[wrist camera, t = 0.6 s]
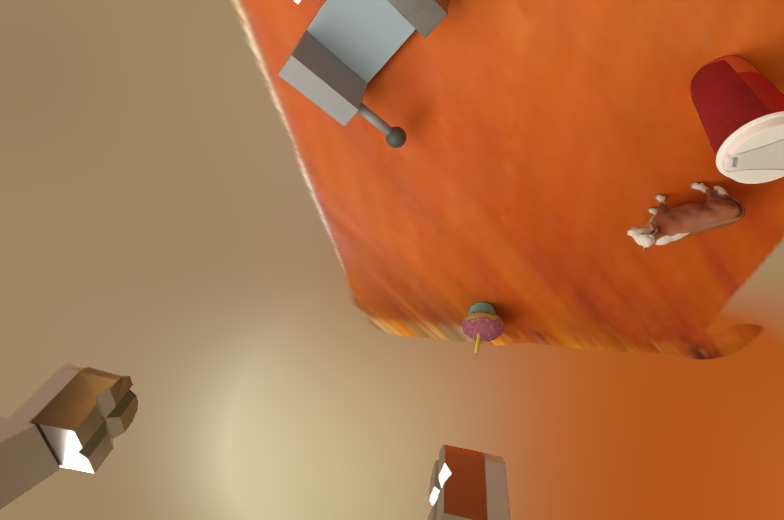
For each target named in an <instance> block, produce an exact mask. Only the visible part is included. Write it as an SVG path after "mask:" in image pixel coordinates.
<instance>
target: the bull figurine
mask: <svg viewBox="0 0 784 520" xmlns="http://www.w3.org/2000/svg"><path fill="white" fill-rule="evenodd" d="M690 188H693V189H696V190H700V191H702V192H703V193H705V195H706V201H705V202H704V203H699V202H689V203H685V204H683V205H680V206H678V207H677V208H675V209H672V210H670V211H669V209H668V208H667V205H666V204H665V198H666V196H665V195H664V196H662V195H661V194H658V195H656V196H655V199H656V200H658V201H659V202H660V204H659V206H658V208H659V209H658V208H653V207H651V208H649V209H648V210H647V211H648V212H649V213H652V214H654V216H652V217H651V218H650V220H649V221H648V222H647V223H646V224H645V226H644V227H639V228H636V227H631V228H630V229H629V230H628V233H627V234H628V235H629V236H632V237H633V238H634V240H635V241H636V243H638V244H639V245H642V246H643V250H644V252H645V251H646V248H647V247H650V246H651V245H665V244H667V243H669V242H672V241H676V240H679V239H682V238H684V237H686V236H690V235H693V234H697V233H700V232H703V231H707V230H712V229H716V228H720V227H723V226H726V225H729V224H732V223H734V222H736V221H738V220H740V219H741V218H742V217H743V216H744V215H745V208H744V206H743V204H742V203H741V202H740V201H738V200H737V199H735V198H734V197H732V196H731V195H730V194H729V193H728V192H727V191H726V190H725V189H723V188H722V187H720V186H717V185H716V186H714V190H712V189H710V188H707V187H706V186H705V185H704V184H703V183H701V184H699V183H697V182H694V183H692V184H690ZM725 196H726V197H728V198H730V199H731V200H730V199H728V198H726V197H725ZM732 200H733V201H734V202H735V203H734V202H733V201H732ZM736 203H737V204H738V205H737V204H736Z"/></svg>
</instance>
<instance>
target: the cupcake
mask: <svg viewBox="0 0 784 520" xmlns="http://www.w3.org/2000/svg"><path fill="white" fill-rule="evenodd" d="M462 327H463V331H464V333H465V334H466V335H467V336H468V337H470V338H472V339H474V340H476V348H475V353H476V354H477V353H478V350H479V343H480V341H491V340H494V339H497V338H498V337H499V336H500V335H501V334H502V333H503V330H504V328H505V326H504V323H503V321H502V320H501V318H500V317H499V316H498V315H496V313H495V310H494V307H493V306H492V305H491V304H489V303H485V302H478V303H475V304H473V305H472V306H471V309H470V311H469V314H468V315H467V316H466V317H465V318H464V320H463V322H462ZM476 354H475V355H476Z"/></svg>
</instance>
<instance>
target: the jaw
mask: <svg viewBox="0 0 784 520" xmlns="http://www.w3.org/2000/svg"><path fill="white" fill-rule="evenodd" d="M387 1H388V2H389V3H390V4H391V5H392V6H393V7H394V8H395V9H396V10H397V11H398V12H399V13H400V14H401V15H402V16H403V17H404V18H405V19H406V20H407V21H408V22H409V23H410V24H411V25H412V26H413V27H414V28H415V29H416V30H417V31H418V32H419V33H420V34H421V35H422V36H423V37H424V38H426V37H427V36H428V35H429V34H430V32H431V31H432V30H433V29H434V28H435V27H436V26H437V25H438V24H439V23H440V22H441V20H442V19H443V18H444V17H445V16H446V15H447V13H448V5H449V0H387Z"/></svg>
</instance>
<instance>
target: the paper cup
mask: <svg viewBox="0 0 784 520" xmlns="http://www.w3.org/2000/svg"><path fill="white" fill-rule="evenodd" d="M690 94H691V98H692V100H693V103H694V105H695V108H696V110H697V112H698V115H699V117H700V119H701V122H702V124H703V126H704V129H705V131H706V133H707V136H708V138H709V141H710V143H711V145H712V148H713V150H714V152H715V154H716V165H717V168H718V170H719V171H720V172H721V173H722V174H723V175H725V176H727V177H729V178H731V179H733V180H735V181H737V182H741V183H746V184H758V183H765V182H769V181H773V180H776V179H779V178H781V177H784V95H783V94H782V93H781V92H780V91H779V90H778V89H777V88H776V87H775V86H774V85H773V84H772V83H771V82H769V81H768V80H767V79H766V78H765V77H764V76H763V75H762V74H761V73H760V72H759V71H758V70H757V69H755V68H754V67H753V66H752V65H751V64H750V63H749V62H747V61H746V60H745V59H743V58H741V57H738V56H725V57H721V58H718V59H715V60H713V61H711V62H710V63H708V64H706V65H705V66H704V67H702V68H701V69H700V70H699V71H698V72H697V73H696V75H695V76H694V78H693V79H692V81H691V84H690Z"/></svg>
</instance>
